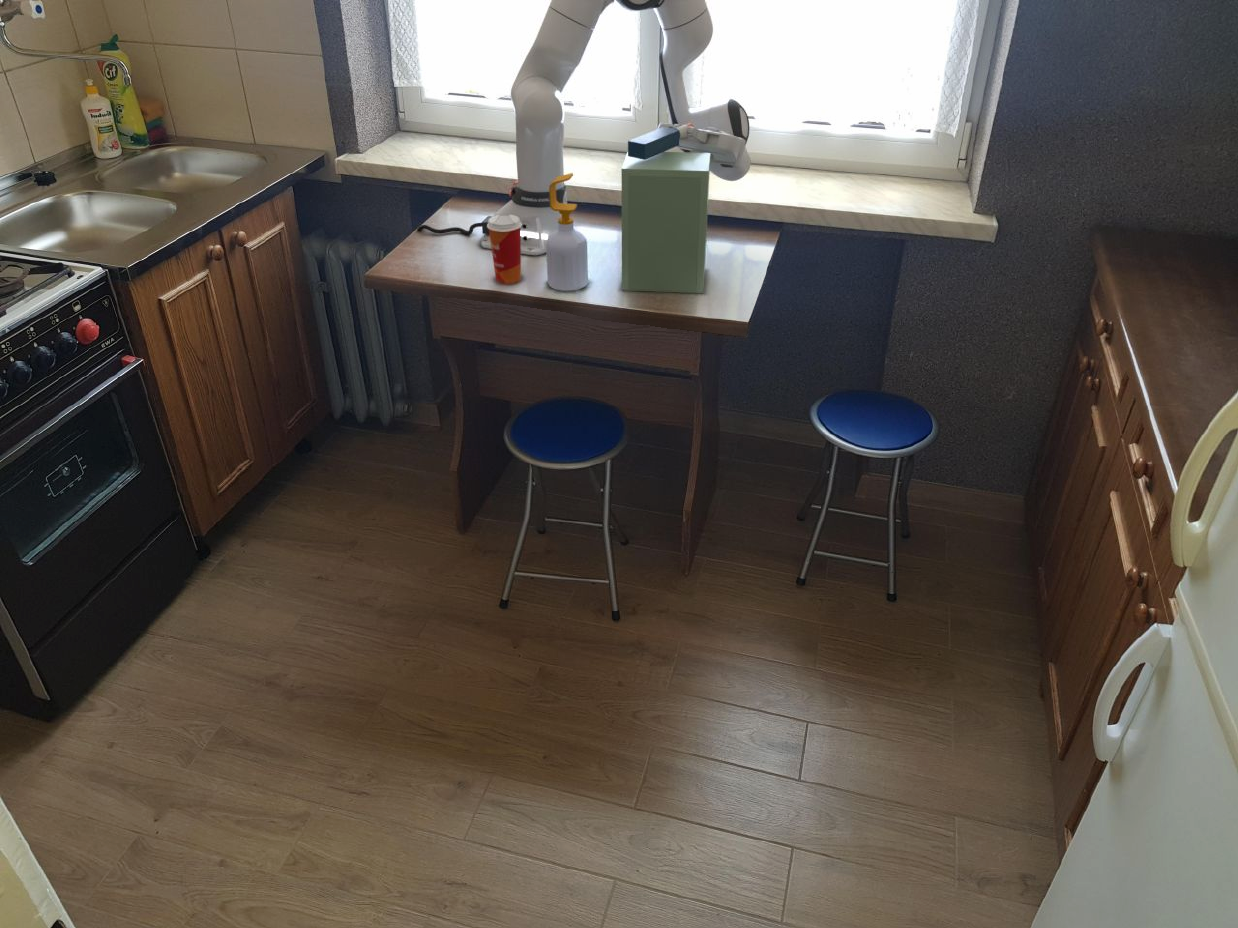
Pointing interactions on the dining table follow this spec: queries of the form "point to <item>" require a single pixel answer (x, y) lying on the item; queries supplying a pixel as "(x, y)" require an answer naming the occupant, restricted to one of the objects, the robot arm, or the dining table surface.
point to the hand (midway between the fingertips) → (683, 129)
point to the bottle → (656, 141)
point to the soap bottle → (566, 247)
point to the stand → (665, 222)
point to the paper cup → (506, 247)
